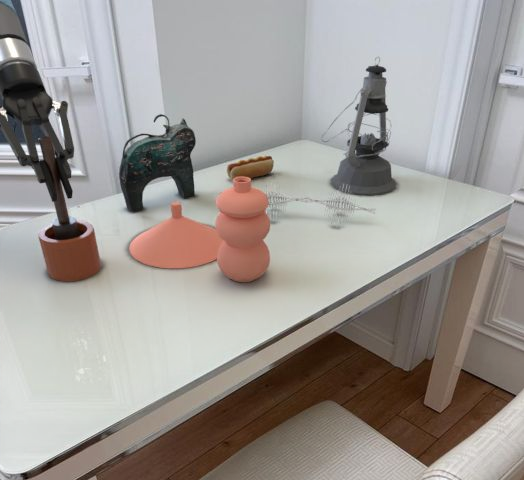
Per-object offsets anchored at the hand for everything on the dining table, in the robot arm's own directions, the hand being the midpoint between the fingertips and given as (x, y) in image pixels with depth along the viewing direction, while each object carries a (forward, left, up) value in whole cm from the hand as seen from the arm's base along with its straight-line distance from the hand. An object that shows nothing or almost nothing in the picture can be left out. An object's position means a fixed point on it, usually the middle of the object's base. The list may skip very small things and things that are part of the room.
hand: (62, 196), depth 96 cm
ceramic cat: (+4, +39, -16) cm, 42 cm away
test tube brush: (+39, +35, -16) cm, 55 cm away
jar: (-3, +3, -16) cm, 17 cm away
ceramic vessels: (+20, +13, -16) cm, 29 cm away
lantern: (+50, +61, -16) cm, 81 cm away
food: (+21, +60, -16) cm, 66 cm away
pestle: (-3, +3, -11) cm, 12 cm away
